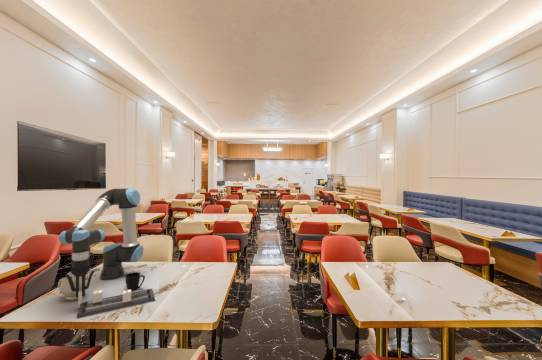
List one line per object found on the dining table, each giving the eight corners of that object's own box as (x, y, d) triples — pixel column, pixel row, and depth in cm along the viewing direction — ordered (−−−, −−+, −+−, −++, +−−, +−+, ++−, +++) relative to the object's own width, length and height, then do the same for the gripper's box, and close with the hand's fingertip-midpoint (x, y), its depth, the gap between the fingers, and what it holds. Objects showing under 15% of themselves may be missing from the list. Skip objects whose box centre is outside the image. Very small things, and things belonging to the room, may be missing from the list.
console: (80, 306, 139) (80, 300, 139) (152, 291, 158) (152, 286, 158) (77, 318, 127) (77, 312, 127) (154, 300, 145) (154, 295, 146)
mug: (139, 292, 156) (140, 277, 156) (122, 291, 158) (122, 276, 158) (148, 287, 164) (148, 272, 164) (131, 286, 166) (131, 271, 166)
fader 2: (122, 299, 141) (122, 290, 141) (130, 298, 143) (130, 288, 143) (122, 302, 138) (122, 293, 138) (131, 300, 140) (131, 291, 140)
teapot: (95, 292, 156) (95, 266, 156) (77, 303, 142) (77, 274, 142) (68, 292, 157) (68, 266, 157) (47, 302, 144) (47, 273, 144)
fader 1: (93, 300, 141) (93, 290, 141) (102, 298, 143) (102, 289, 143) (93, 303, 137) (93, 293, 137) (101, 301, 139) (101, 291, 139)
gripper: (63, 263, 130) (63, 308, 129) (94, 259, 136) (94, 302, 136) (66, 259, 136) (66, 302, 136) (95, 255, 143) (95, 297, 143)
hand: (80, 302), depth 136 cm, fingers closed
